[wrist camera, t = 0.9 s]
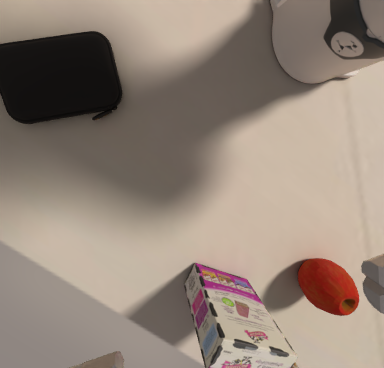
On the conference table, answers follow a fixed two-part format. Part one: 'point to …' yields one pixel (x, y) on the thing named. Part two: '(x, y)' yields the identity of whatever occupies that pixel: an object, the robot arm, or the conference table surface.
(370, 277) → the robot arm
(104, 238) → the conference table surface
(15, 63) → the carrying case or bag
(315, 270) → the apple
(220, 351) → the candy bar box
